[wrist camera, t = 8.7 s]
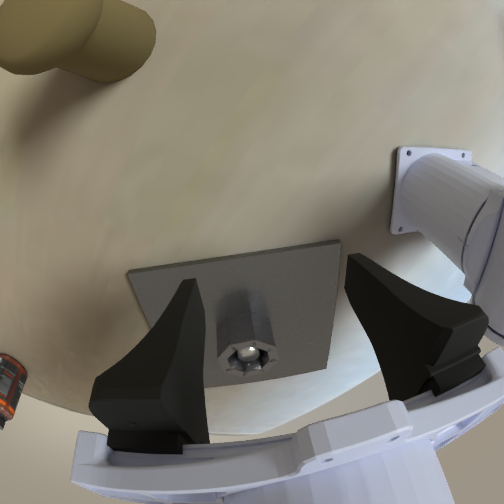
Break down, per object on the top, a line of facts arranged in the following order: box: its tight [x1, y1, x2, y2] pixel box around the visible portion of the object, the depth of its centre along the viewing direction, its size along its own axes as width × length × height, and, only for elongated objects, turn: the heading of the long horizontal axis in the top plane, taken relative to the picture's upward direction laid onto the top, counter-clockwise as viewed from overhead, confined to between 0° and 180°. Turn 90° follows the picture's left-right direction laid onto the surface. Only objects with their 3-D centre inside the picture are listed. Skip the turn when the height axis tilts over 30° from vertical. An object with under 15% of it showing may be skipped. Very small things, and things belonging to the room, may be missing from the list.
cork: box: [0, 0, 156, 83], centre depth 9 cm, size 6×6×11 cm
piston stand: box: [128, 240, 341, 388], centre depth 27 cm, size 18×18×3 cm
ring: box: [216, 312, 279, 377], centre depth 26 cm, size 5×5×4 cm
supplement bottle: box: [0, 354, 27, 430], centre depth 24 cm, size 6×6×11 cm
